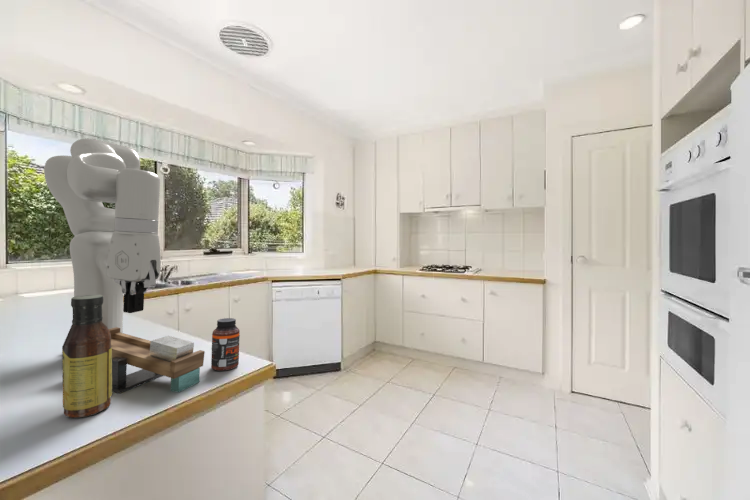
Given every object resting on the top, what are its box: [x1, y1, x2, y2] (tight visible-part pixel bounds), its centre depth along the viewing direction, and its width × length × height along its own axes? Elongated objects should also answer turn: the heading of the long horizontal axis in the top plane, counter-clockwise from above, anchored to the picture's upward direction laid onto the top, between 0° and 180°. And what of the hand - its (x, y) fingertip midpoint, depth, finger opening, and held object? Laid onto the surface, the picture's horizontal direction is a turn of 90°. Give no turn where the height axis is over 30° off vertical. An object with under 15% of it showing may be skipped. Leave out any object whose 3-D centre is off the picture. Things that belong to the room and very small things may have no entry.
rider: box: [149, 335, 195, 363], centre depth 65 cm, size 7×4×4 cm, turn 74°
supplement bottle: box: [210, 317, 241, 372], centre depth 74 cm, size 6×6×11 cm
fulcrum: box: [112, 357, 201, 394], centre depth 67 cm, size 26×13×6 cm, turn 74°
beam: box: [109, 327, 206, 379], centre depth 67 cm, size 26×8×6 cm, turn 74°
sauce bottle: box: [61, 295, 113, 419], centre depth 53 cm, size 6×6×20 cm
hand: (133, 311), depth 68 cm, fingers closed
